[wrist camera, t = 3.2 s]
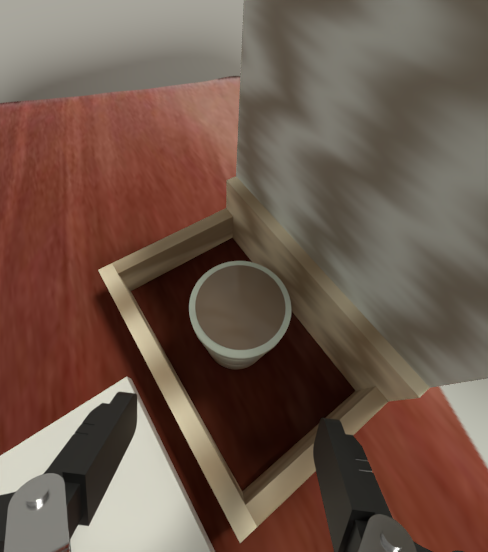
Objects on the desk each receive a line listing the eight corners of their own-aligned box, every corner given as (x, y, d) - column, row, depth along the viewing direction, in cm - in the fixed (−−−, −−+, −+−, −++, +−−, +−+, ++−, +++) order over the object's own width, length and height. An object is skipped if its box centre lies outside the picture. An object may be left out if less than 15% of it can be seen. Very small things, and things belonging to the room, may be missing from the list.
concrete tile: (-71, 506, 18) (-90, 512, 17) (131, 378, 22) (126, 376, 21) (-24, 813, 13) (-46, 848, 12) (224, 571, 17) (224, 581, 16)
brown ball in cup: (186, 328, 24) (169, 290, 17) (245, 292, 26) (252, 245, 19) (225, 392, 22) (225, 380, 15) (287, 347, 24) (312, 317, 17)
